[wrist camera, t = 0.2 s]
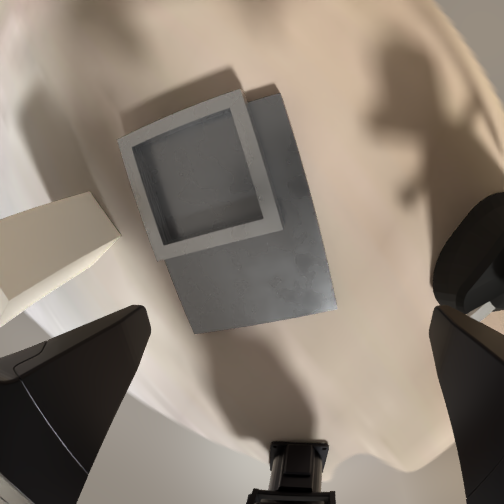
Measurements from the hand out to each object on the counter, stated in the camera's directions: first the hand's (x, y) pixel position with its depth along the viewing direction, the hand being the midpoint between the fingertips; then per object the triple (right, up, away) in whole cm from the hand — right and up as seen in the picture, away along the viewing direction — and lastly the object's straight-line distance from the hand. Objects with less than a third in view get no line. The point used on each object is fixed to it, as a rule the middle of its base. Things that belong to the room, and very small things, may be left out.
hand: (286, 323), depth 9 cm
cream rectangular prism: (-16, +4, +17) cm, 23 cm away
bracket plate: (-2, +4, +14) cm, 15 cm away
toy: (+16, +3, +11) cm, 20 cm away
